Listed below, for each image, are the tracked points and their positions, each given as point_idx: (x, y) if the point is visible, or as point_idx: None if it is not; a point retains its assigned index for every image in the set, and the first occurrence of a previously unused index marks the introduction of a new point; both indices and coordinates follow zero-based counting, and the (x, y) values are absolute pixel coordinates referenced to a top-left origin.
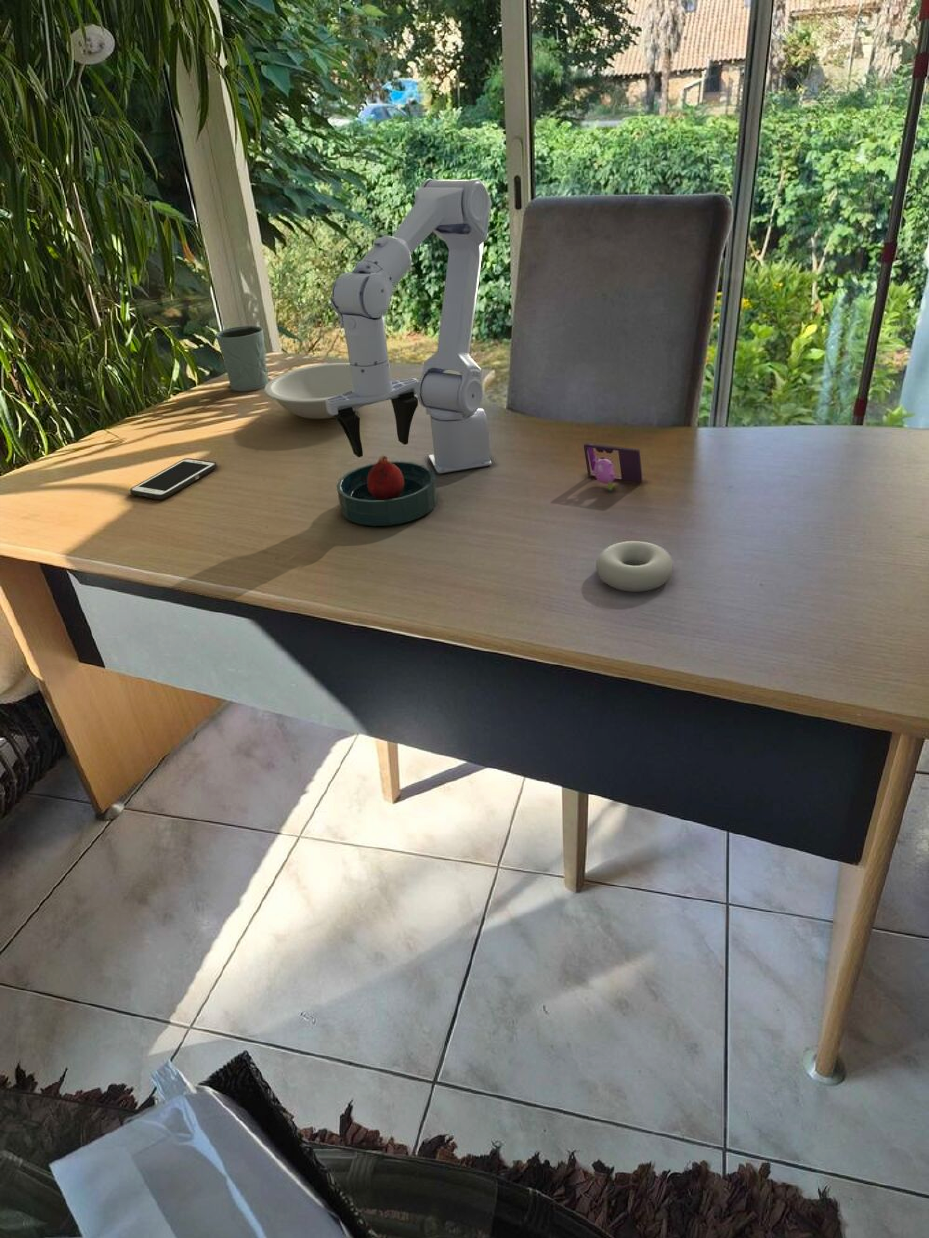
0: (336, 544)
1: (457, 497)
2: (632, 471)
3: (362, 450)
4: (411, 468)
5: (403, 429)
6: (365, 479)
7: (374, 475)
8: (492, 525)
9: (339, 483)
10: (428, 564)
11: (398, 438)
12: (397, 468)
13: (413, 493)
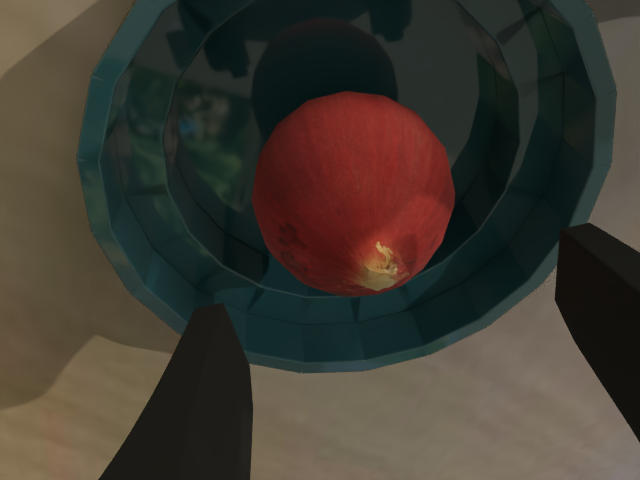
0: (97, 330)
1: (614, 154)
2: None
3: (252, 411)
4: (557, 20)
5: (616, 391)
6: None
7: (297, 275)
8: (577, 357)
9: (93, 136)
10: (340, 462)
11: (569, 240)
12: (435, 250)
13: (422, 349)
